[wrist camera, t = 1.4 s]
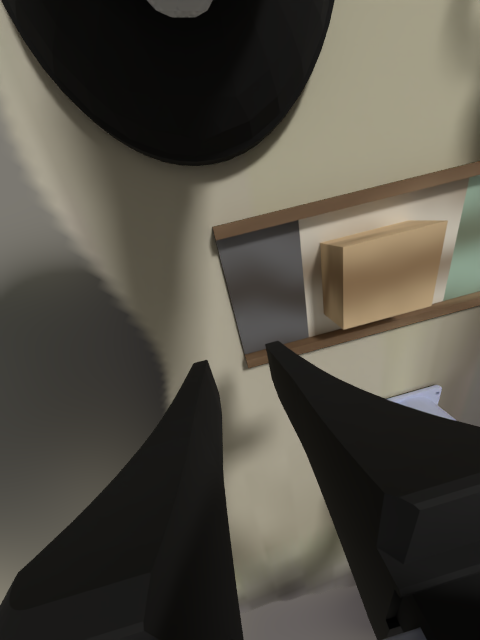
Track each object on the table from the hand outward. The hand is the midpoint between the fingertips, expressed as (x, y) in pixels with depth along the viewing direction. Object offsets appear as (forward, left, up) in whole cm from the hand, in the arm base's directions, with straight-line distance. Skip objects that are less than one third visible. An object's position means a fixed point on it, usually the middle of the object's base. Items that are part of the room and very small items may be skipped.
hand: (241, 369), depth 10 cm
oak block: (0, -12, -8) cm, 14 cm away
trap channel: (0, -18, -8) cm, 19 cm away
